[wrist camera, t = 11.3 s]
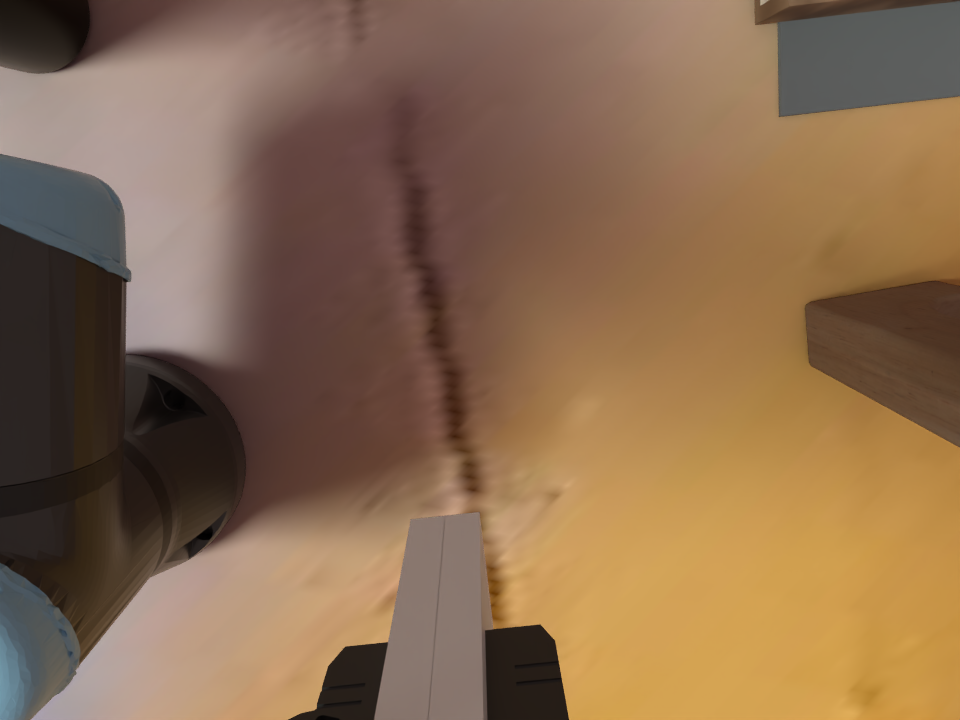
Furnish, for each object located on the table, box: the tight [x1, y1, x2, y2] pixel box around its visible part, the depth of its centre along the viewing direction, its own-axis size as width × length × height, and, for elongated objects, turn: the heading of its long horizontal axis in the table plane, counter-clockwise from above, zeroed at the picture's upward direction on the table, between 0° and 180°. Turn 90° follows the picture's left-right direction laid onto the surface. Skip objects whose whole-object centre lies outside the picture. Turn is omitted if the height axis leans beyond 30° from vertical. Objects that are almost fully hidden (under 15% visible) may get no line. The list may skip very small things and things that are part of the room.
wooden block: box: [805, 281, 960, 447], centre depth 41 cm, size 9×4×18 cm, turn 100°
